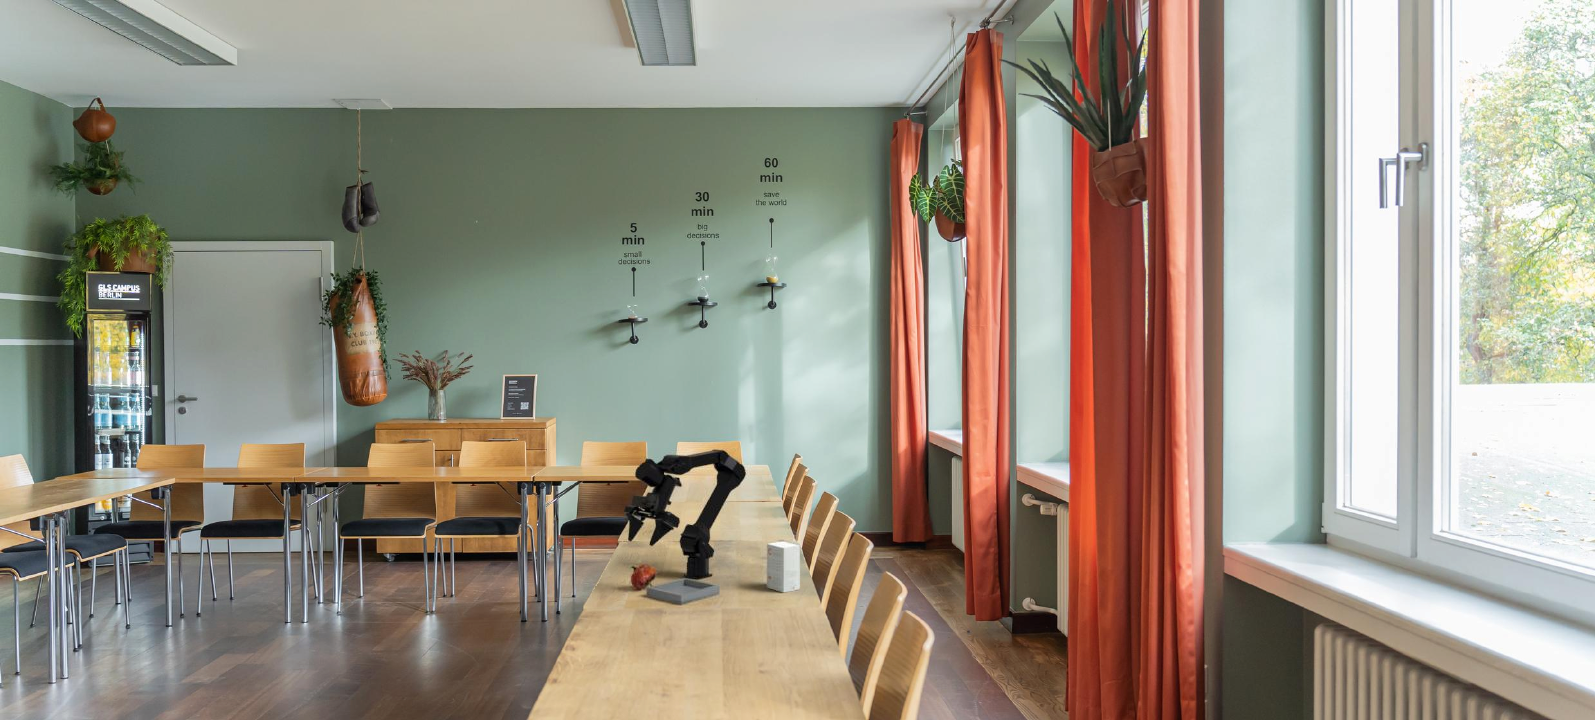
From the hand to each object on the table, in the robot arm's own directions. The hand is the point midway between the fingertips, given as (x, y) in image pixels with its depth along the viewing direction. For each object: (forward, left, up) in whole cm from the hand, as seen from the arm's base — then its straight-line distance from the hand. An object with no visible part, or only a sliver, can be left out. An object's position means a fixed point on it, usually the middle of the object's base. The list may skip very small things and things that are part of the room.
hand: (639, 543), depth 273 cm
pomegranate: (-2, 0, -14) cm, 14 cm away
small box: (-28, +31, -14) cm, 44 cm away
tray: (-4, +14, -14) cm, 20 cm away
